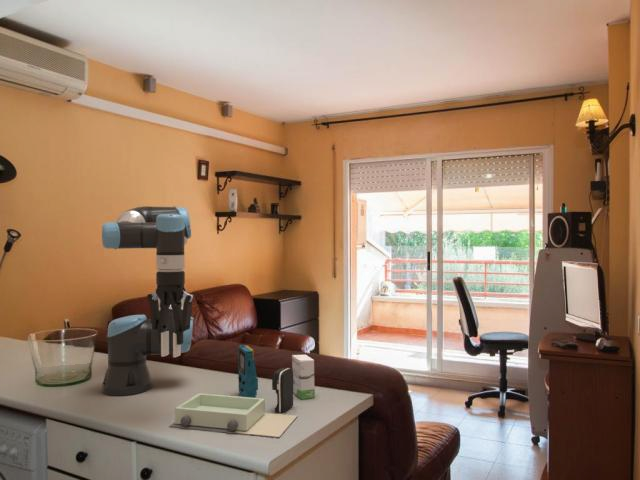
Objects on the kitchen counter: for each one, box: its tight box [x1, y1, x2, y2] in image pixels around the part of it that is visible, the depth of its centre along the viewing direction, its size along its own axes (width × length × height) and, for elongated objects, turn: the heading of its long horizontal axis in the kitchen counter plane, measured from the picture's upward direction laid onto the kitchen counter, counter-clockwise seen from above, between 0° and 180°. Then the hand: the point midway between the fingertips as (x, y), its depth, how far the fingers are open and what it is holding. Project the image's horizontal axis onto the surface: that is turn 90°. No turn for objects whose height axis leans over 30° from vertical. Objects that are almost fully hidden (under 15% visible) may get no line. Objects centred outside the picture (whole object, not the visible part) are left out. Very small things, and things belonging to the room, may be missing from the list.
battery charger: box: [271, 367, 294, 414], centre depth 145 cm, size 7×4×11 cm, turn 155°
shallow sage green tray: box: [174, 392, 266, 431], centre depth 136 cm, size 20×15×4 cm
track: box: [169, 412, 298, 439], centre depth 135 cm, size 30×15×1 cm, turn 75°
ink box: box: [291, 354, 316, 400], centre depth 158 cm, size 9×5×12 cm, turn 20°
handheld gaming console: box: [237, 344, 259, 398], centre depth 156 cm, size 10×4×15 cm, turn 23°
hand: (171, 355), depth 140 cm, fingers open, 3 cm apart
